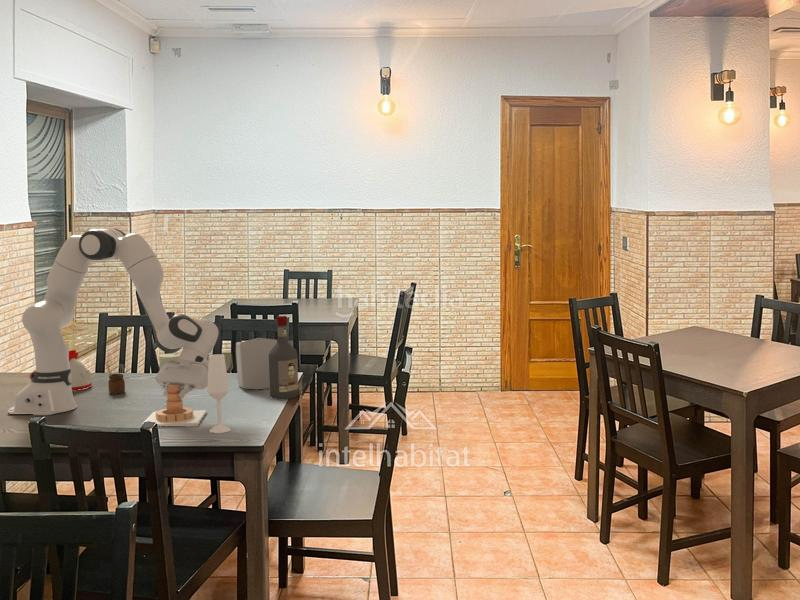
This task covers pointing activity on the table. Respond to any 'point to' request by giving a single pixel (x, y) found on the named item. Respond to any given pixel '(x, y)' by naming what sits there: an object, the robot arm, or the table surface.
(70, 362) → the kitchen timer
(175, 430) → the table surface
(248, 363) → the electrical switch box
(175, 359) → the can
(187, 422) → the collar plate
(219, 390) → the champagne flute
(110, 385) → the utensil holder
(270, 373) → the liquor
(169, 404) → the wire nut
